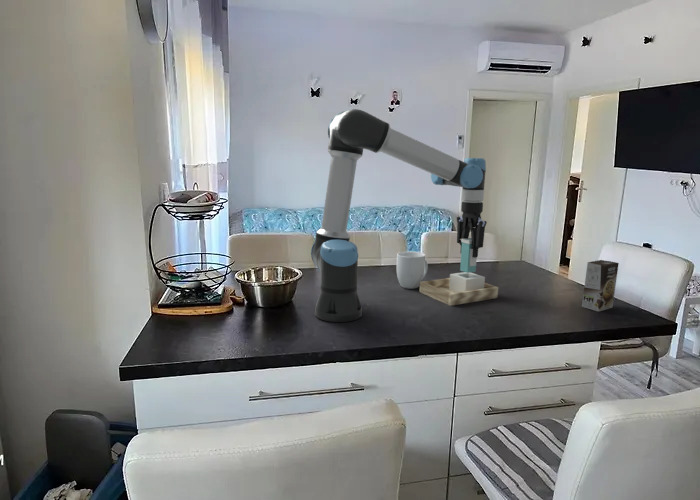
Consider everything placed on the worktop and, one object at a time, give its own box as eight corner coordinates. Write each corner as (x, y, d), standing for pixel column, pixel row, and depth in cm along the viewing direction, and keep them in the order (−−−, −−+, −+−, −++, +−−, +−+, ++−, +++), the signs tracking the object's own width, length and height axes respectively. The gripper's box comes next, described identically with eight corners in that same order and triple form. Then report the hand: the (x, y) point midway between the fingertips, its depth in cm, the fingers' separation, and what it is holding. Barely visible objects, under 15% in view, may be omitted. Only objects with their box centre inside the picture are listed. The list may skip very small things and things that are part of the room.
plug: (467, 272, 173) (469, 240, 171) (459, 270, 177) (461, 238, 175) (476, 271, 175) (478, 239, 173) (468, 269, 179) (470, 237, 177)
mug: (415, 280, 196) (417, 249, 194) (436, 285, 188) (438, 253, 185) (389, 285, 187) (391, 253, 184) (410, 292, 179) (411, 258, 176)
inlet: (465, 295, 172) (466, 279, 171) (449, 289, 180) (450, 274, 178) (483, 292, 176) (485, 277, 175) (467, 286, 184) (468, 271, 183)
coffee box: (599, 312, 159) (605, 265, 156) (581, 307, 165) (586, 261, 161) (613, 307, 164) (619, 262, 161) (595, 302, 169) (601, 258, 166)
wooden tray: (450, 305, 163) (450, 294, 163) (419, 292, 179) (419, 281, 178) (497, 297, 173) (498, 287, 173) (464, 285, 189) (465, 275, 188)
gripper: (497, 203, 165) (492, 268, 170) (464, 198, 180) (460, 258, 185) (481, 204, 162) (476, 270, 167) (449, 199, 177) (445, 260, 181)
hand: (468, 264), depth 176 cm, fingers closed on plug, 4 cm apart
